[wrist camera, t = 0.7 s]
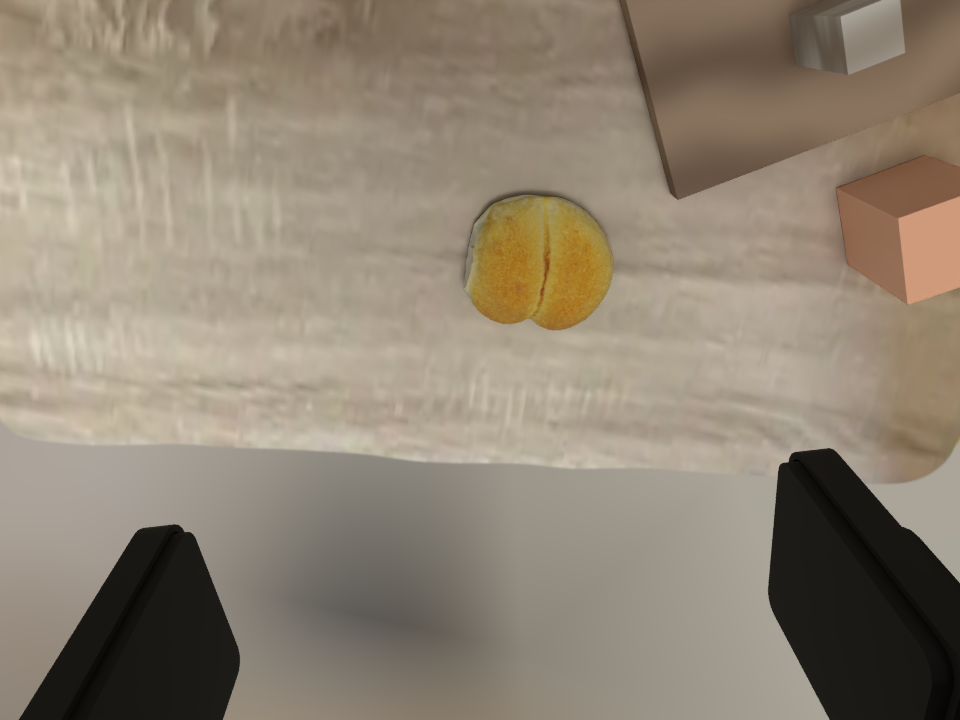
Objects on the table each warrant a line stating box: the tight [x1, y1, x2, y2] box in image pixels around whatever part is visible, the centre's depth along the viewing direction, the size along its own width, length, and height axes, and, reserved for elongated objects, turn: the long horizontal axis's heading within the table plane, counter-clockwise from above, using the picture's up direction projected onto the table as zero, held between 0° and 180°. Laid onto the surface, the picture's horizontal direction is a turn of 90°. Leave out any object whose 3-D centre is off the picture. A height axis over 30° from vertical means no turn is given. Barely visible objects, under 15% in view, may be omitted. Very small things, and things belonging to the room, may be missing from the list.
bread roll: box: [464, 195, 614, 330], centre depth 42 cm, size 8×9×4 cm
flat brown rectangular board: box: [620, 0, 960, 200], centre depth 35 cm, size 12×18×7 cm, turn 111°
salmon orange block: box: [836, 155, 960, 305], centre depth 40 cm, size 5×5×7 cm
